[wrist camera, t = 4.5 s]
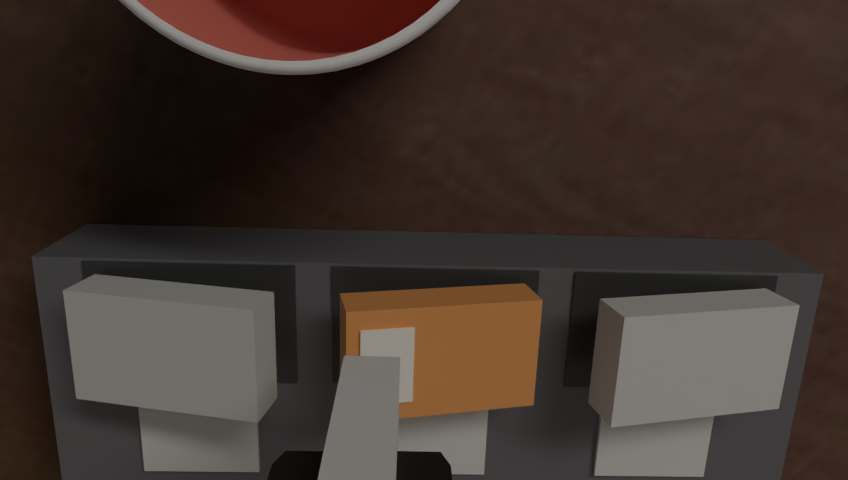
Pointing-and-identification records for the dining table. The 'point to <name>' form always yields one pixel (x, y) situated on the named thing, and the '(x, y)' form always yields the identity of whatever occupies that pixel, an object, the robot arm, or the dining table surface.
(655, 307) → the rocker
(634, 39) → the dining table surface
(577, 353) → the switch panel
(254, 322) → the block
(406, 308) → the block
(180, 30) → the cup
